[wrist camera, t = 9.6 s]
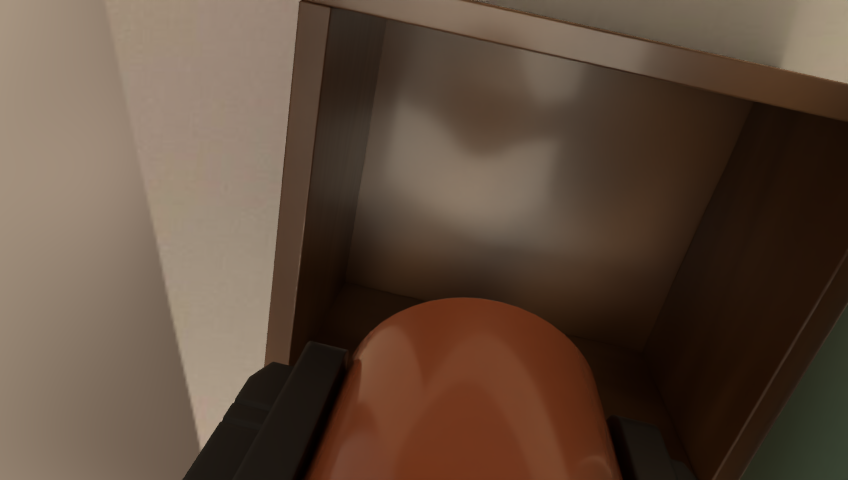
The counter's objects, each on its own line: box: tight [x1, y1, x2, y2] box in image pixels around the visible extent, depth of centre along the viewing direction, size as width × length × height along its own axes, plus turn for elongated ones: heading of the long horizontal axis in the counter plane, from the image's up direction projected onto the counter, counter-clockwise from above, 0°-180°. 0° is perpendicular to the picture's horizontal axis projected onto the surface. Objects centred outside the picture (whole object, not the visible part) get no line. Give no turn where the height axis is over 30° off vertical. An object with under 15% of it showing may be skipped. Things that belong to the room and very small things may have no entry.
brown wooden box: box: [264, 0, 848, 480], centre depth 19 cm, size 16×14×9 cm
